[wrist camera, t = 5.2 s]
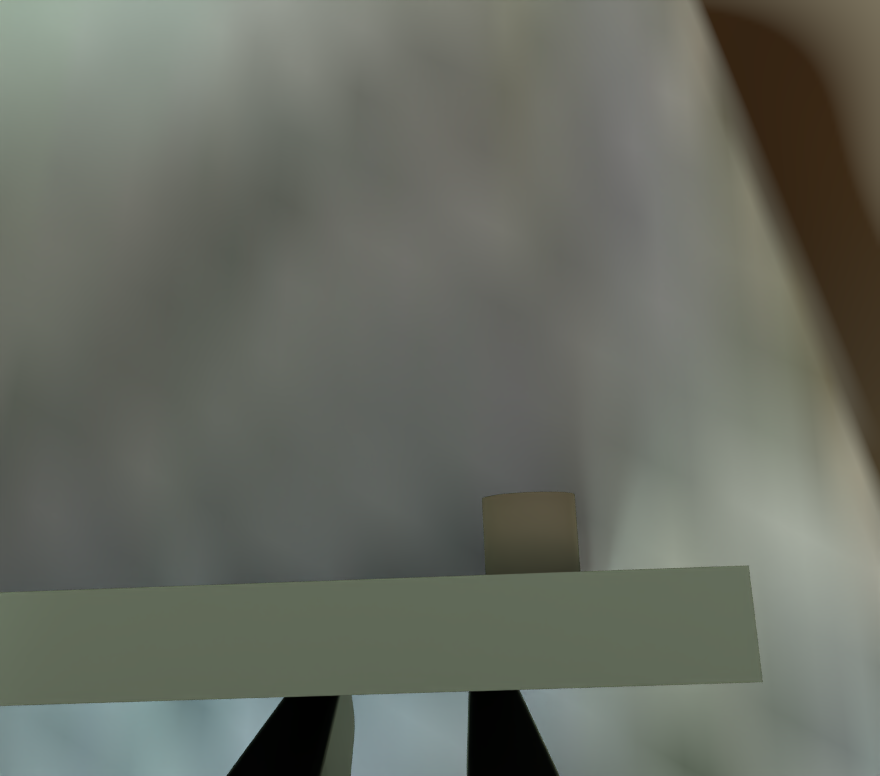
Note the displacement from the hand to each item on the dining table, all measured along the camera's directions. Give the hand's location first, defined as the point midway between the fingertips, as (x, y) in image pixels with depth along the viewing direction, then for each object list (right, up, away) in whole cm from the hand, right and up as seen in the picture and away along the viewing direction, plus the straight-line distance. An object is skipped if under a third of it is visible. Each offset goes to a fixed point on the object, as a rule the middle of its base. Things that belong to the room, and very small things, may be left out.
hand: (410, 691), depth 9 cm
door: (-3, -1, +7) cm, 8 cm away
